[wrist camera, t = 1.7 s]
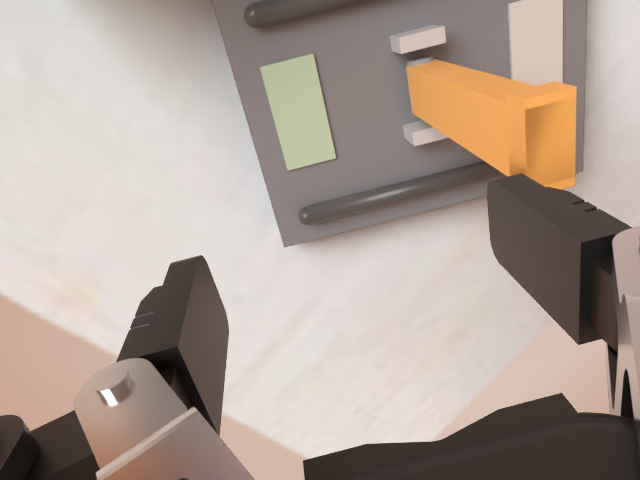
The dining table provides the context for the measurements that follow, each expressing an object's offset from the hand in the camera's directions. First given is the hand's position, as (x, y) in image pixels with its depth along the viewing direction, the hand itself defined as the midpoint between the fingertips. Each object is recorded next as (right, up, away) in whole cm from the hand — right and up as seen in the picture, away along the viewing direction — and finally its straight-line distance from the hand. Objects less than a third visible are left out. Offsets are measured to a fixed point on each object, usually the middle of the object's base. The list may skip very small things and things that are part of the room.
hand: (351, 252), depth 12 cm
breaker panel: (+5, +10, +18) cm, 21 cm away
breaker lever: (+5, +9, +15) cm, 18 cm away
